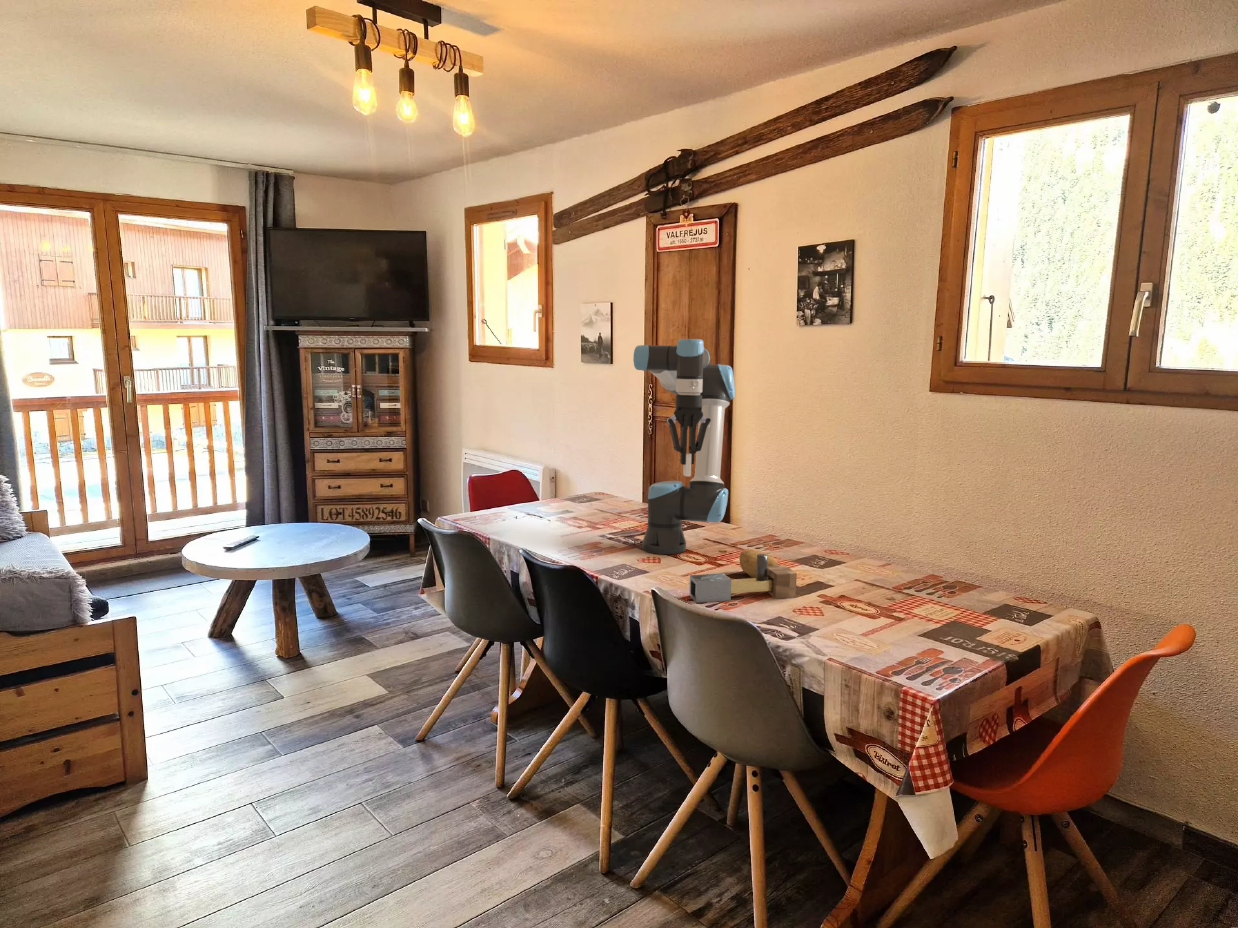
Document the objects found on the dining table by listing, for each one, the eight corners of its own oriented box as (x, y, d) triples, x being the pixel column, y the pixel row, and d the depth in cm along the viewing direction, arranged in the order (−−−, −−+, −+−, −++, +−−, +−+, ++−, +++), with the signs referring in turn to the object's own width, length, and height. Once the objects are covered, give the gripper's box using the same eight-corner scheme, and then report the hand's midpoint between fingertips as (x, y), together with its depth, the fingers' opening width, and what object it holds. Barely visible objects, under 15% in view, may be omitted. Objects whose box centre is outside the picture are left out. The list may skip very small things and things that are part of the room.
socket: (764, 589, 224) (765, 566, 222) (783, 588, 225) (784, 565, 224) (775, 598, 216) (776, 574, 215) (795, 597, 217) (796, 573, 216)
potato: (762, 586, 226) (763, 560, 225) (731, 574, 238) (732, 549, 237) (786, 581, 231) (788, 555, 230) (754, 569, 243) (755, 544, 242)
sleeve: (689, 595, 217) (689, 575, 216) (722, 593, 220) (723, 573, 219) (696, 602, 212) (696, 581, 211) (730, 600, 214) (731, 579, 213)
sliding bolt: (715, 590, 217) (716, 556, 216) (778, 586, 222) (780, 552, 220) (719, 594, 214) (720, 559, 213) (782, 589, 219) (784, 555, 217)
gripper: (670, 394, 214) (669, 478, 218) (715, 394, 217) (712, 477, 221) (663, 393, 222) (661, 474, 225) (706, 392, 225) (704, 472, 228)
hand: (686, 475), depth 223 cm, fingers closed
